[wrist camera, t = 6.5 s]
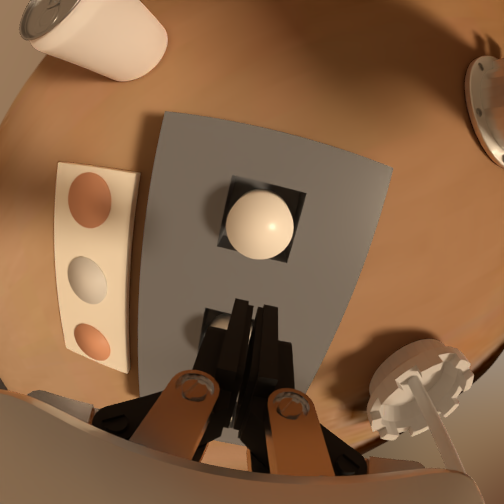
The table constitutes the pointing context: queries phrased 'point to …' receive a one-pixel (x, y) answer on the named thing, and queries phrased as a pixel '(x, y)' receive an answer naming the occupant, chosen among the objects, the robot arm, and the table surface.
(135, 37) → the can
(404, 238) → the table surface
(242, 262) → the button panel
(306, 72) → the table surface
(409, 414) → the flag stand
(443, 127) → the table surface
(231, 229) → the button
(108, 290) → the pattern card
